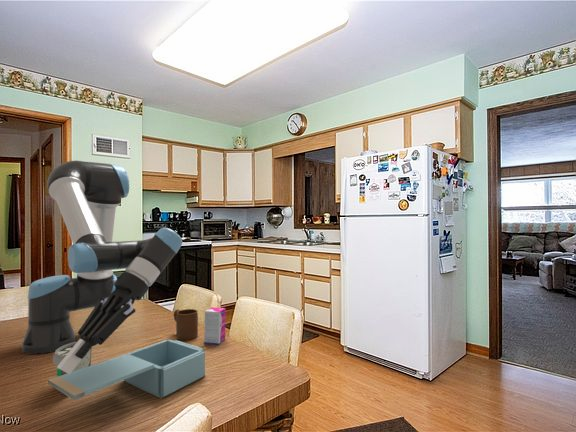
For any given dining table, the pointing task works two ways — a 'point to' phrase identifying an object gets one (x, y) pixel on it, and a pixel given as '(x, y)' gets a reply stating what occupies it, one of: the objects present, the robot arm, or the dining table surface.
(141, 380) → the carton
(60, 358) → the food container
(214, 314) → the supplement box
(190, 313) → the mug
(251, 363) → the dining table surface
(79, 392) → the flap
